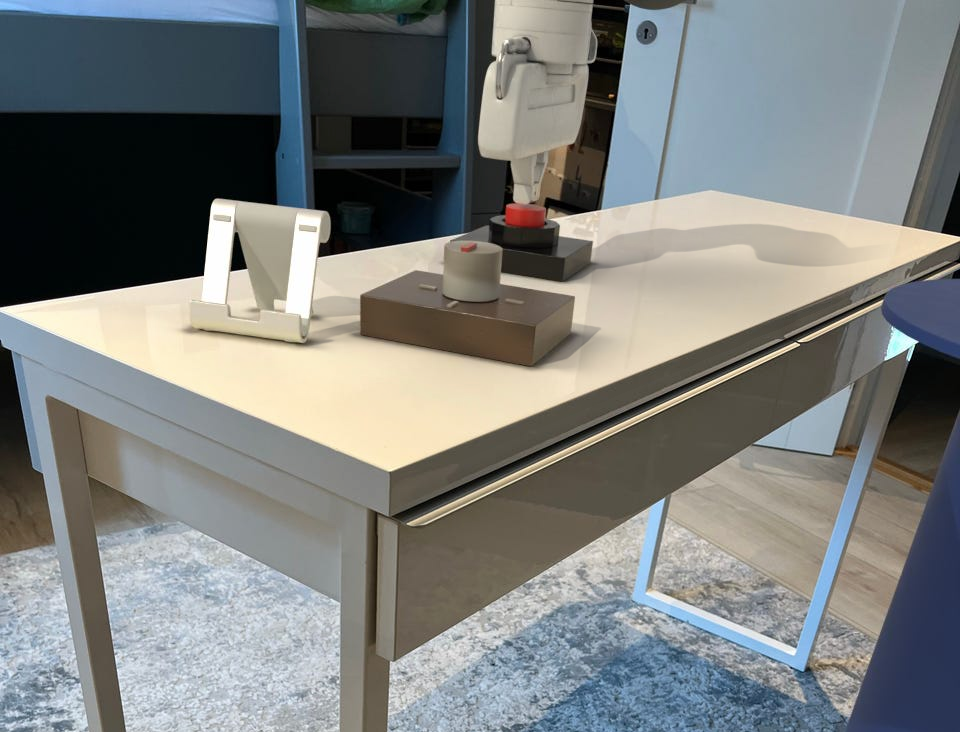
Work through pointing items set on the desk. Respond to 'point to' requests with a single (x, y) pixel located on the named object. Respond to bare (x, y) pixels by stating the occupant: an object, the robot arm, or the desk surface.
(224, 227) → the tablet stand
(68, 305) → the desk surface
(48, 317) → the desk surface
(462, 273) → the dial
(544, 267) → the button box
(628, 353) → the desk surface
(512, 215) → the button
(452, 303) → the panel
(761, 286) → the desk surface
